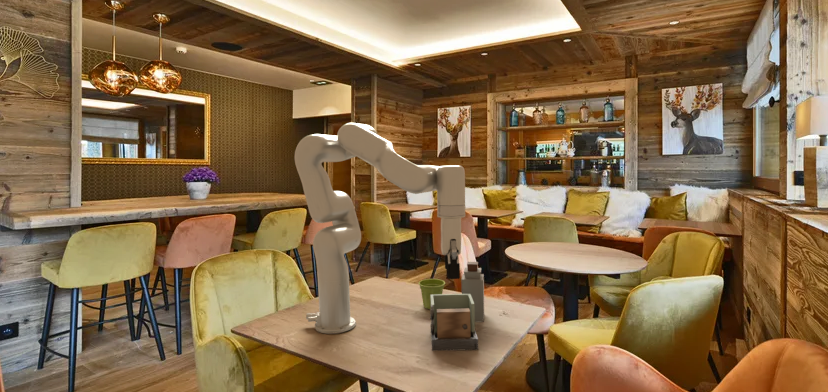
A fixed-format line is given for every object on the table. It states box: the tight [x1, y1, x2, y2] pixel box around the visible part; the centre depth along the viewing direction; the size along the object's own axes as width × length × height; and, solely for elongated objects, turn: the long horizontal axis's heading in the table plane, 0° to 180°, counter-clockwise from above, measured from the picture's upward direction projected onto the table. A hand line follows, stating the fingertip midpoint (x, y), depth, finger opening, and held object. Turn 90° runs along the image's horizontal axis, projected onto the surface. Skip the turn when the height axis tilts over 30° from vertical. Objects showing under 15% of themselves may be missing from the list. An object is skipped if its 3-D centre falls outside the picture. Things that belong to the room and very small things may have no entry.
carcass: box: [431, 293, 476, 333], centre depth 120 cm, size 12×9×11 cm
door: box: [437, 308, 471, 338], centre depth 114 cm, size 9×3×10 cm, turn 90°
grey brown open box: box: [429, 306, 479, 352], centre depth 114 cm, size 13×6×11 cm, turn 89°
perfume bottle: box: [460, 261, 485, 323], centre depth 134 cm, size 7×7×18 cm
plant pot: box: [418, 278, 446, 310], centre depth 145 cm, size 9×9×9 cm
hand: (452, 273), depth 113 cm, fingers open, 9 cm apart
